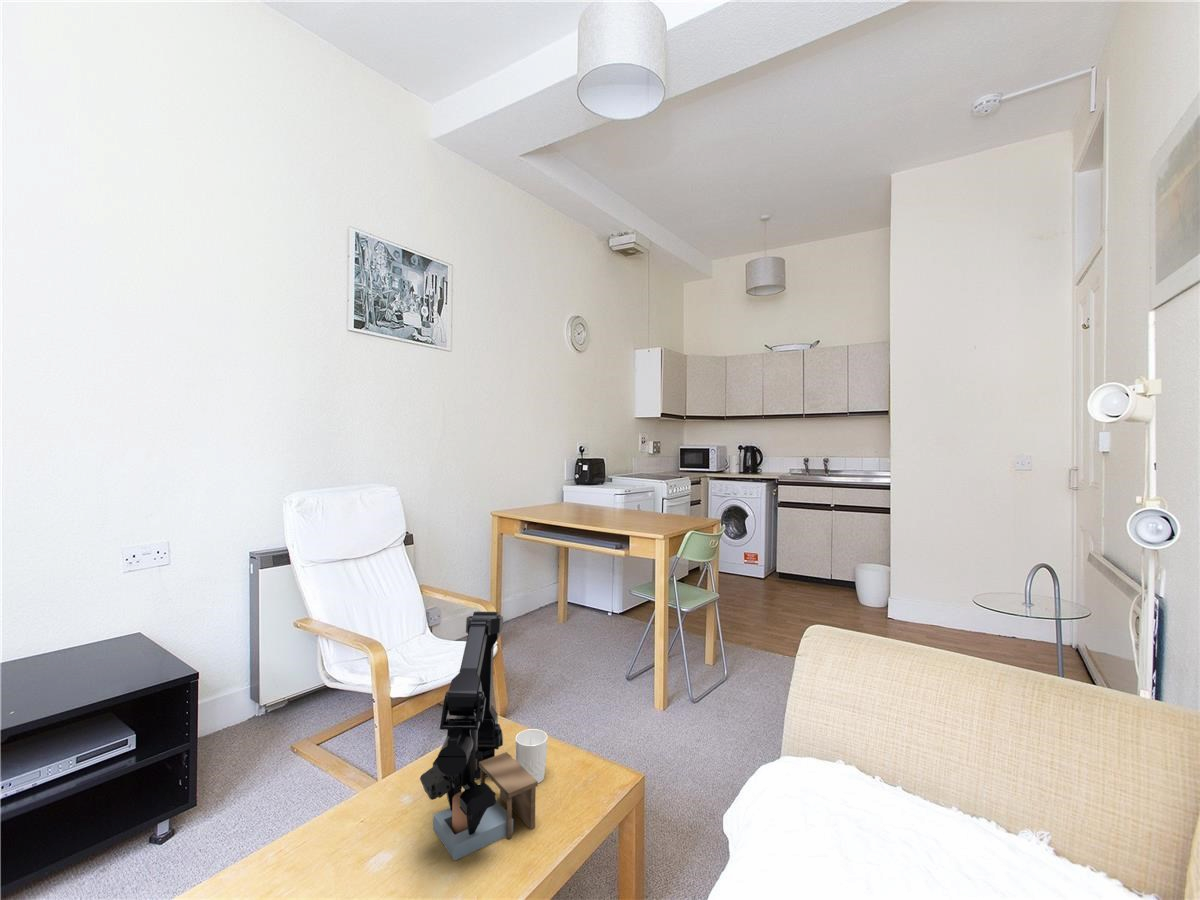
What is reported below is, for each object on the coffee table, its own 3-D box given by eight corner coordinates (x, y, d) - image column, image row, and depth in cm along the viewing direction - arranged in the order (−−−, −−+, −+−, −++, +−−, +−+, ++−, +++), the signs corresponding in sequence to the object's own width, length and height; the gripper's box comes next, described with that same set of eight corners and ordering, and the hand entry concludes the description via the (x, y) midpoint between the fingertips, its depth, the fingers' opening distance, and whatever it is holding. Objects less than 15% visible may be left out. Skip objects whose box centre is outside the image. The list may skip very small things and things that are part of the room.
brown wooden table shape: (478, 805, 124) (478, 762, 124) (505, 793, 128) (506, 751, 128) (507, 840, 113) (508, 793, 113) (536, 826, 117) (537, 781, 117)
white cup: (553, 777, 135) (554, 737, 135) (528, 791, 129) (529, 749, 129) (532, 764, 140) (533, 725, 140) (508, 777, 134) (508, 737, 134)
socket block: (433, 828, 116) (433, 814, 116) (489, 804, 124) (489, 791, 124) (454, 860, 107) (454, 845, 107) (513, 832, 115) (513, 818, 115)
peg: (448, 834, 114) (449, 796, 114) (466, 826, 117) (467, 789, 117) (456, 845, 111) (457, 806, 111) (474, 837, 114) (475, 798, 114)
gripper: (409, 739, 116) (408, 812, 116) (443, 783, 102) (442, 866, 102) (459, 724, 123) (457, 793, 123) (497, 762, 108) (496, 840, 108)
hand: (462, 821), depth 114 cm, fingers open, 9 cm apart
